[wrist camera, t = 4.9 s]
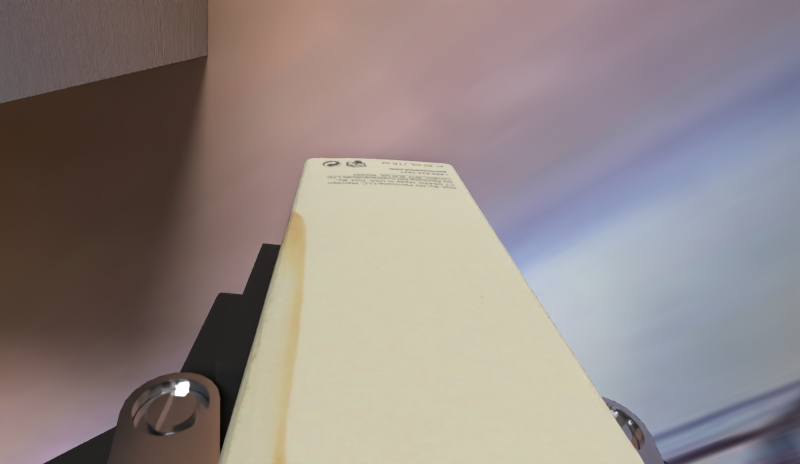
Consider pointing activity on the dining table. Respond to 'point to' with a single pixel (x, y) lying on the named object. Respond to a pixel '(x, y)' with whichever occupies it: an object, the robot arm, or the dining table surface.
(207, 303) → the dining table surface
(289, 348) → the skincare box
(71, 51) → the box
